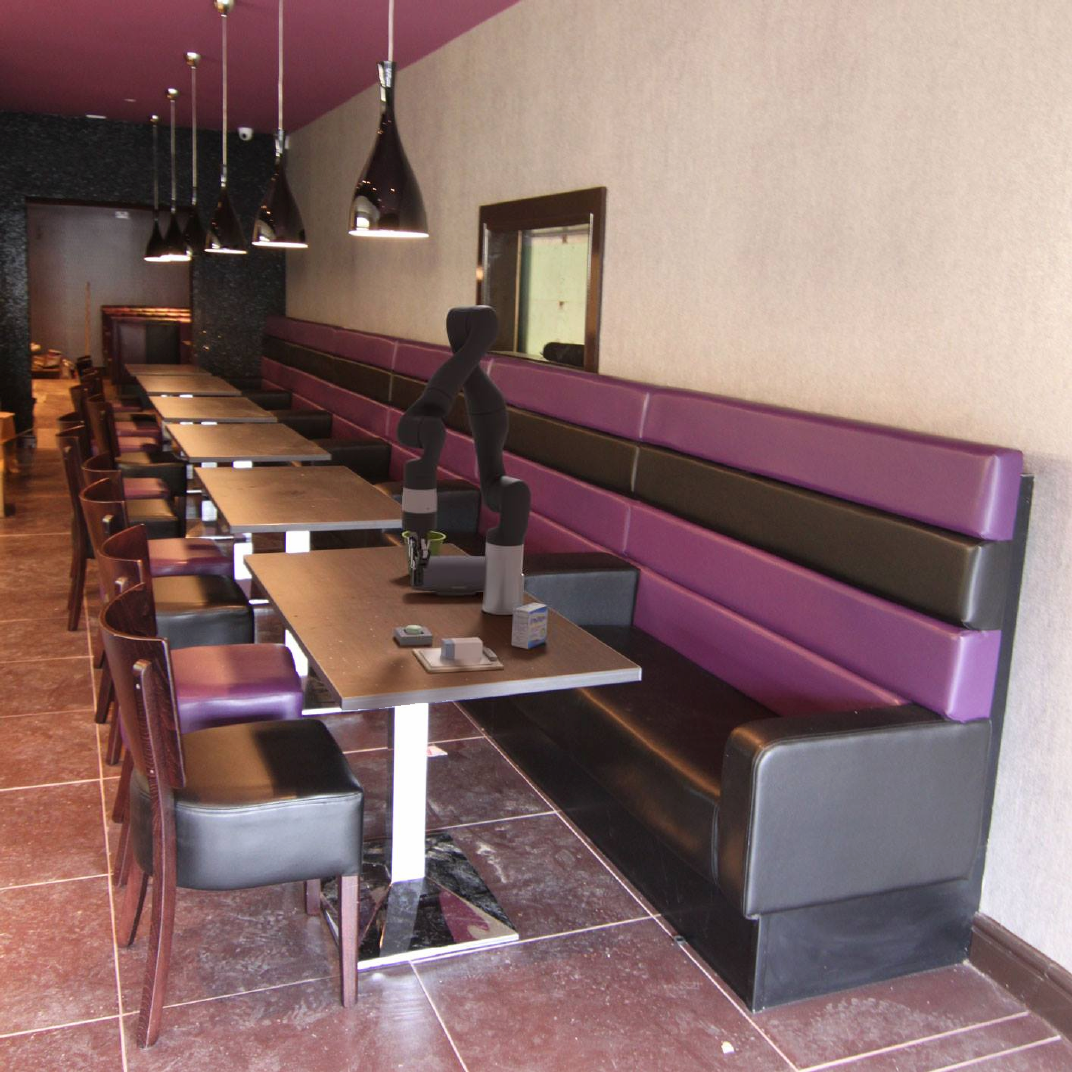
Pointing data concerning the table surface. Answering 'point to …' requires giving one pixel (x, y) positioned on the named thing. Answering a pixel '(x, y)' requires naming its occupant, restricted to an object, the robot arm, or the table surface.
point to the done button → (413, 629)
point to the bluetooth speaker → (453, 575)
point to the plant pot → (434, 545)
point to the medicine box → (529, 625)
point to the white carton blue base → (461, 648)
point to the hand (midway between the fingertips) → (417, 585)
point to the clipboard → (456, 661)
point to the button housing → (413, 637)
